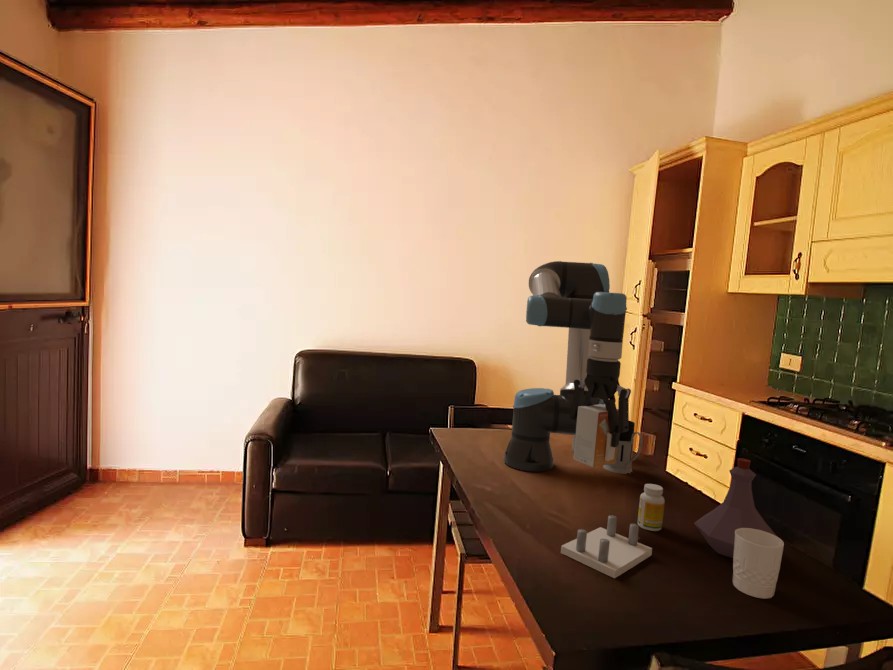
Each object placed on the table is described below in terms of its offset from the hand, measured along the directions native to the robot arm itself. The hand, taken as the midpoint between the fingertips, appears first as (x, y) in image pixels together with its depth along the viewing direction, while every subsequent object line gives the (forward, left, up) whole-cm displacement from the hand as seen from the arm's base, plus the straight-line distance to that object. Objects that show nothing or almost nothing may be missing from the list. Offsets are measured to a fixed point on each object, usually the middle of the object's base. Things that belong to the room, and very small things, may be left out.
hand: (595, 455), depth 126 cm
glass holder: (-13, +40, -16) cm, 44 cm away
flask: (+28, +12, -16) cm, 34 cm away
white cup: (+36, -2, -16) cm, 39 cm away
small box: (0, 0, -2) cm, 2 cm away
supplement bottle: (+11, +8, -16) cm, 21 cm away
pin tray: (+12, -13, -15) cm, 24 cm away
